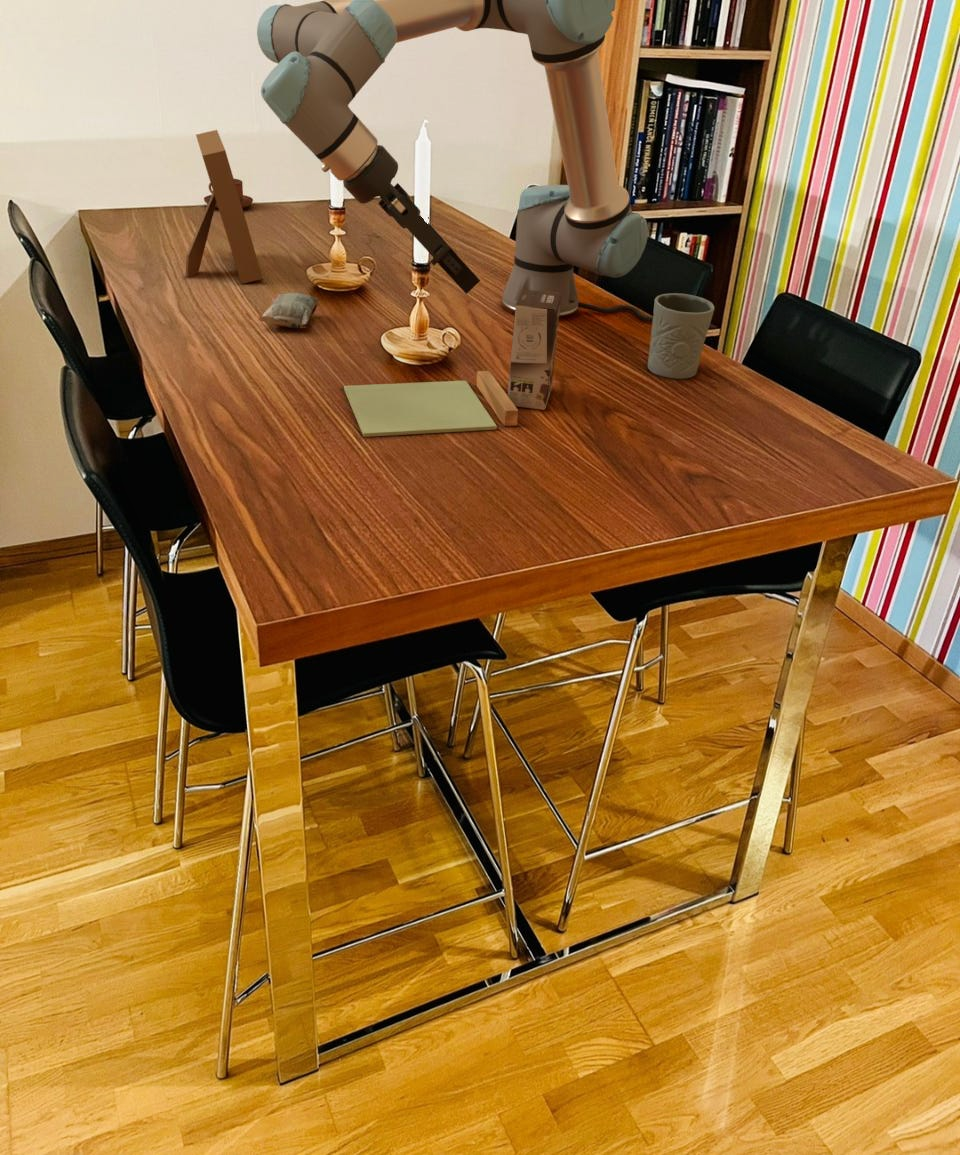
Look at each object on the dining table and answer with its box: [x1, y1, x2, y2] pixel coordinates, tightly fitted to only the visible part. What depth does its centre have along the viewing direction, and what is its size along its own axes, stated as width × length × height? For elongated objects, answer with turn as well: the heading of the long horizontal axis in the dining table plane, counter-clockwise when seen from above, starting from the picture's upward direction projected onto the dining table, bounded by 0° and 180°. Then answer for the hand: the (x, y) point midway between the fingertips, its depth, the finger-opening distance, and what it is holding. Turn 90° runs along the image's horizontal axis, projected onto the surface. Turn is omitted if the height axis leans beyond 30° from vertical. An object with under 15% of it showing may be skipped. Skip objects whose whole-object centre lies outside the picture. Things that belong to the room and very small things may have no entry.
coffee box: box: [507, 289, 562, 411], centre depth 156 cm, size 9×6×16 cm
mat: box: [343, 380, 498, 438], centre depth 154 cm, size 20×18×1 cm
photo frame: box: [185, 129, 264, 285], centre depth 202 cm, size 15×22×25 cm
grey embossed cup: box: [647, 292, 715, 380], centre depth 172 cm, size 10×10×12 cm
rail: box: [475, 370, 519, 427], centre depth 157 cm, size 2×16×2 cm, turn 15°
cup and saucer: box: [203, 178, 254, 209], centre depth 252 cm, size 12×12×6 cm
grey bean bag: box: [258, 292, 319, 329], centre depth 182 cm, size 9×12×5 cm
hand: (461, 273), depth 148 cm, fingers open, 13 cm apart
